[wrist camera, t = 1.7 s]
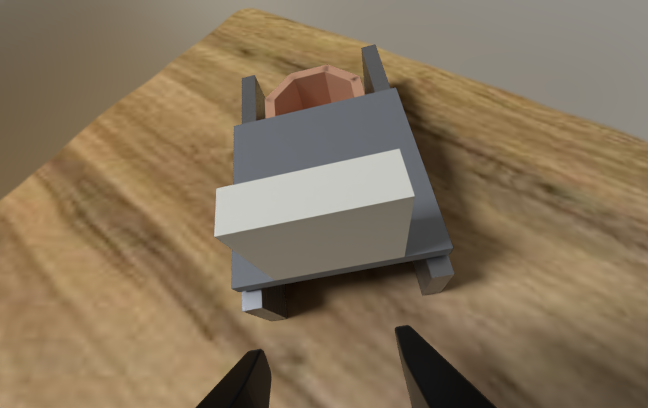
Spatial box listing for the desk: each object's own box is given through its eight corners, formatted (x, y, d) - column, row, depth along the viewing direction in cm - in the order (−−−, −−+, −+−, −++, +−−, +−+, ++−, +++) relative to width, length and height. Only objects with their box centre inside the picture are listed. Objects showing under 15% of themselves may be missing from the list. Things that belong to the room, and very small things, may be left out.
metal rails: (440, 292, 21) (454, 274, 16) (271, 321, 22) (241, 311, 17) (376, 90, 30) (375, 44, 26) (262, 117, 31) (241, 78, 27)
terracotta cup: (376, 167, 26) (374, 128, 22) (286, 187, 27) (267, 153, 22) (359, 101, 30) (354, 57, 25) (281, 120, 31) (263, 80, 26)
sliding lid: (449, 253, 16) (493, 179, 10) (239, 292, 17) (148, 249, 11) (395, 98, 22) (399, -15, 15) (239, 134, 23) (181, 44, 17)
